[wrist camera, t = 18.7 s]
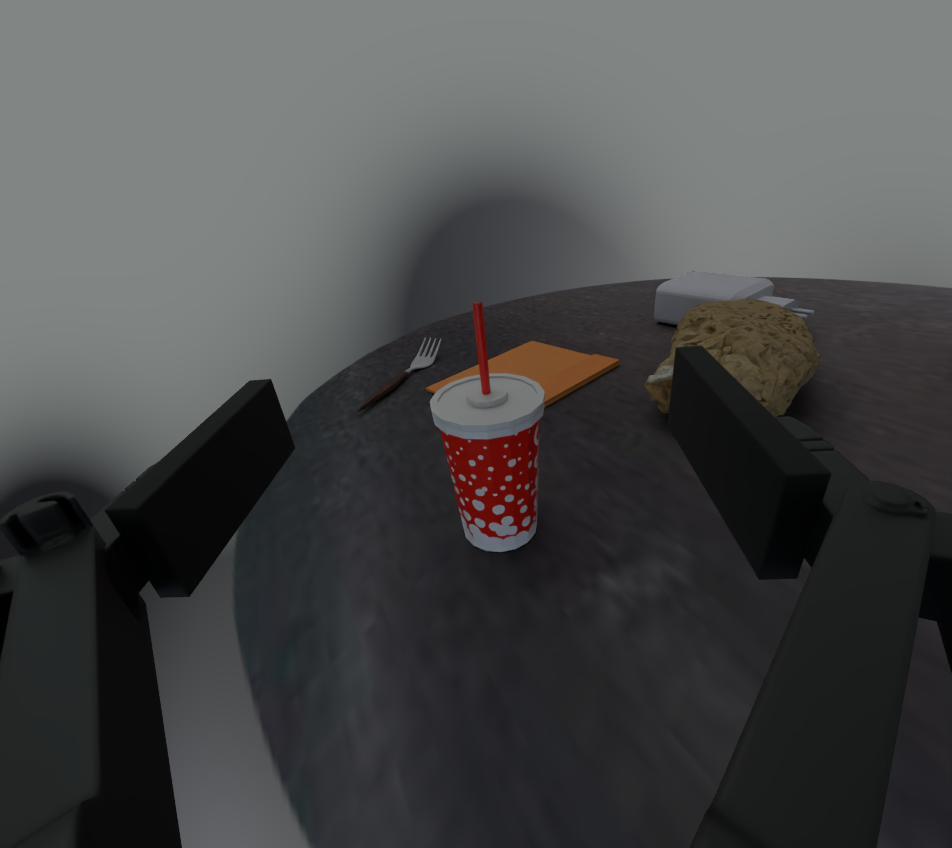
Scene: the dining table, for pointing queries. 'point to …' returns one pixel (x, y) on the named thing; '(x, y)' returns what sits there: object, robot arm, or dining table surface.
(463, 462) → the beverage cup
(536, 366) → the cloth
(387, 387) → the fork
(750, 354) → the sponge
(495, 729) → the dining table surface
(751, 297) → the charger
